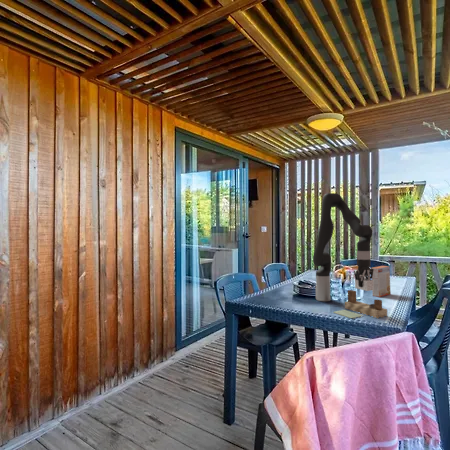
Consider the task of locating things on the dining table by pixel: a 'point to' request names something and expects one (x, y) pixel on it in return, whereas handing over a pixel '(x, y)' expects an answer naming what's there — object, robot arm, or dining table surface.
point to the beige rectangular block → (365, 284)
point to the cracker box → (381, 281)
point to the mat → (347, 314)
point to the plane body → (365, 306)
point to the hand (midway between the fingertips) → (364, 286)
